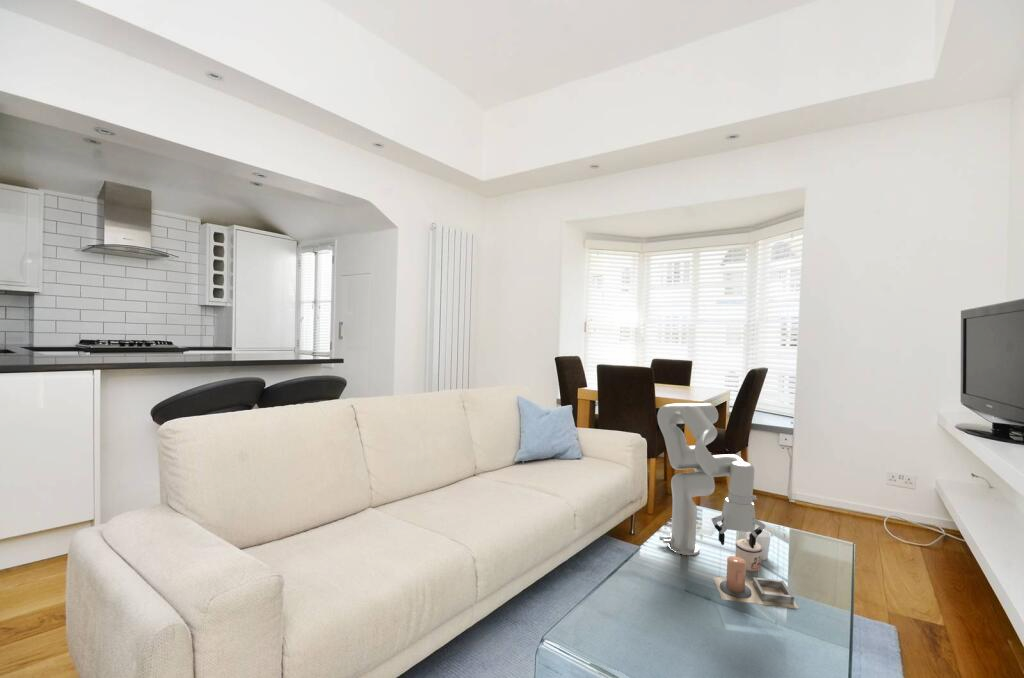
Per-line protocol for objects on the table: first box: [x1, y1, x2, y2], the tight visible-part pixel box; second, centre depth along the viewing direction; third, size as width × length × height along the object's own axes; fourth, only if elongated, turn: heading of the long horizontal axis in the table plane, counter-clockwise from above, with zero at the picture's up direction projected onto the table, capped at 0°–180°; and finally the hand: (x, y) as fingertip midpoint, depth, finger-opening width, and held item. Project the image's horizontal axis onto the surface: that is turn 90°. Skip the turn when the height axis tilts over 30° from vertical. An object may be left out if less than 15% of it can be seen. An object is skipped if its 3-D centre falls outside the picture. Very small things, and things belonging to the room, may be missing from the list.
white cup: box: [748, 527, 772, 561], centre depth 195 cm, size 8×8×10 cm
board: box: [712, 576, 800, 610], centre depth 169 cm, size 24×14×4 cm, turn 80°
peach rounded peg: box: [725, 555, 747, 593], centre depth 169 cm, size 8×6×10 cm
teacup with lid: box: [735, 536, 762, 572], centre depth 187 cm, size 12×9×12 cm
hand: (736, 544), depth 169 cm, fingers open, 9 cm apart
